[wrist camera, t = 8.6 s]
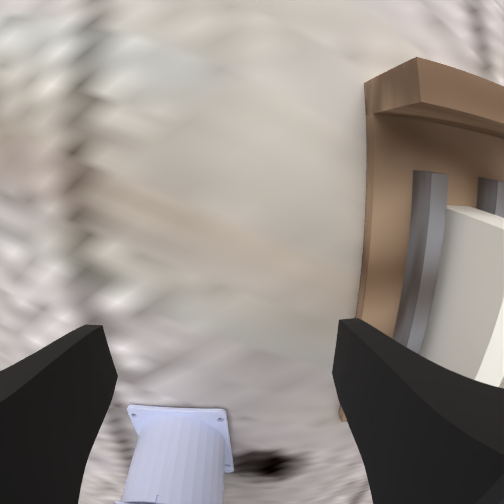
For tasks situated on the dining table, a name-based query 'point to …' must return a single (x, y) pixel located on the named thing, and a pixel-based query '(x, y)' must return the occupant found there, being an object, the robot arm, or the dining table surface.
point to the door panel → (469, 297)
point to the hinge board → (422, 184)
